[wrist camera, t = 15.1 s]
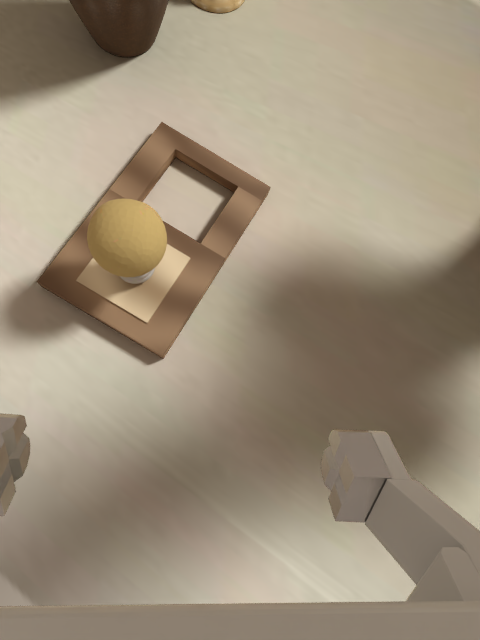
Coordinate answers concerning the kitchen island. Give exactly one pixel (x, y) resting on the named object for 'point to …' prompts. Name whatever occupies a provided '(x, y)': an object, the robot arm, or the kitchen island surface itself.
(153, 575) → the kitchen island surface
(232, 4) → the hand bell
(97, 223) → the light bulb
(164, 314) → the socket board
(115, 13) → the plant pot
